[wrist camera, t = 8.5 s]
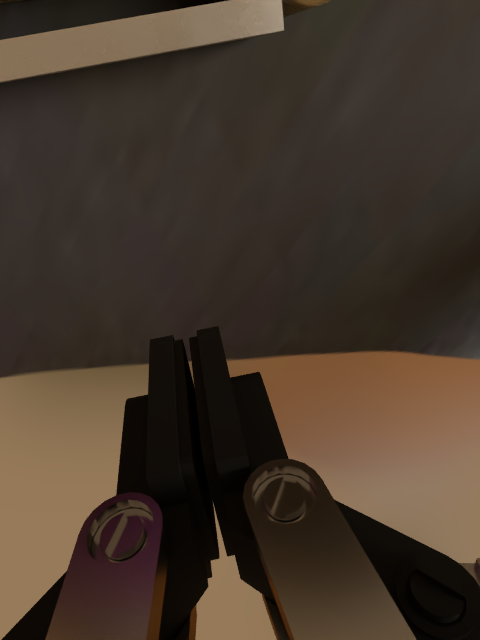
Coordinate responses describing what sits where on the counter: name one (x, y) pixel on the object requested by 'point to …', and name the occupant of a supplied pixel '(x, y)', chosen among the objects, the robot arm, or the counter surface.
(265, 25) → the open leaf
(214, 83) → the counter surface
